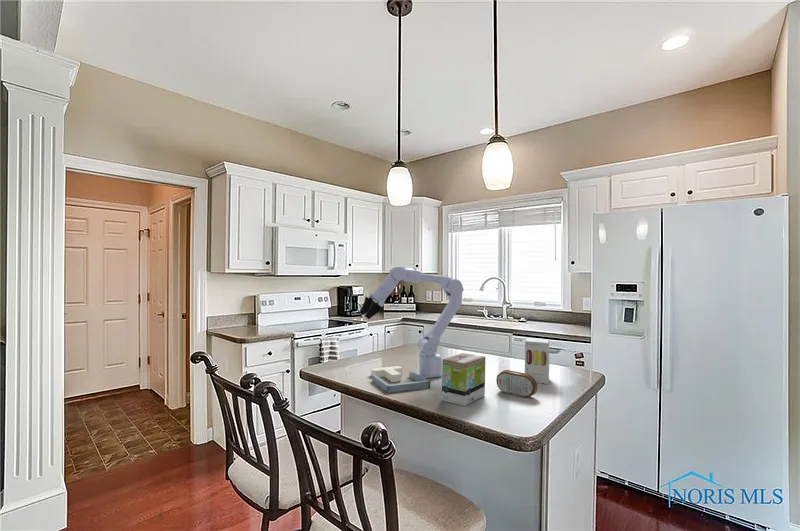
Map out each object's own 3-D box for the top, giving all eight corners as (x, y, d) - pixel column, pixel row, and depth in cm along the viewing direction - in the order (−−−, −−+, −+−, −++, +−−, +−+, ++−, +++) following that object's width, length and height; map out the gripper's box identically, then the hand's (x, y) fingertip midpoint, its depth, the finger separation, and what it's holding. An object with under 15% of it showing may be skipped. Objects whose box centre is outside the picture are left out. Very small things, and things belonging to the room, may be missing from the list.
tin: (537, 398, 143) (537, 374, 143) (534, 400, 141) (534, 376, 141) (498, 389, 153) (499, 367, 153) (495, 391, 151) (495, 369, 151)
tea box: (466, 407, 134) (466, 362, 134) (440, 401, 140) (440, 358, 140) (485, 395, 146) (486, 355, 146) (461, 390, 152) (461, 351, 152)
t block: (398, 372, 178) (398, 366, 178) (411, 380, 166) (411, 372, 166) (371, 375, 173) (371, 368, 173) (381, 383, 161) (381, 376, 161)
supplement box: (524, 381, 164) (524, 340, 164) (525, 376, 172) (526, 337, 173) (548, 384, 160) (548, 342, 160) (549, 378, 169) (549, 338, 169)
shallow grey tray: (411, 376, 171) (411, 370, 171) (430, 387, 155) (430, 381, 155) (372, 381, 164) (372, 375, 164) (387, 393, 148) (387, 386, 148)
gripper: (372, 281, 175) (352, 306, 173) (382, 287, 161) (361, 314, 160) (383, 291, 177) (364, 315, 176) (395, 298, 164) (374, 324, 162)
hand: (364, 315), depth 168 cm, fingers open, 7 cm apart
